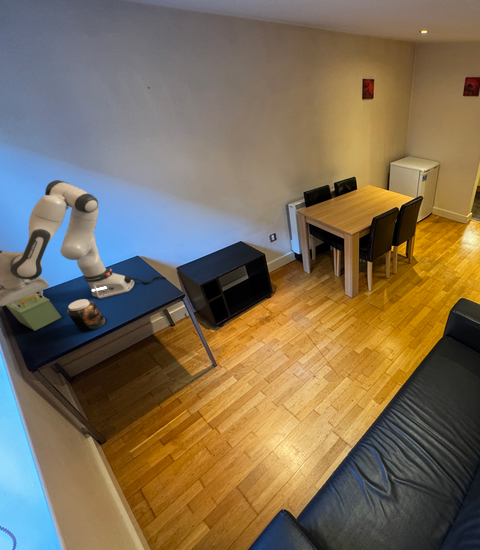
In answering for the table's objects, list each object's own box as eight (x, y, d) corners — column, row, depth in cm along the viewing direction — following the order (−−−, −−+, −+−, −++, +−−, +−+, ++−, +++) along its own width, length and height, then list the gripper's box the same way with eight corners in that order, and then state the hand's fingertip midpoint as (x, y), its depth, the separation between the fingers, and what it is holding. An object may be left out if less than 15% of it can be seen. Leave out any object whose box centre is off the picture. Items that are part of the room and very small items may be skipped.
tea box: (61, 317, 168) (48, 299, 161) (34, 330, 159) (19, 312, 152) (47, 309, 173) (33, 292, 166) (20, 322, 164) (5, 304, 157)
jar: (75, 334, 157) (59, 313, 149) (83, 320, 166) (68, 300, 158) (102, 328, 161) (88, 307, 153) (108, 315, 170) (95, 295, 162)
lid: (49, 300, 161) (44, 293, 158) (20, 313, 151) (14, 306, 149) (33, 292, 166) (28, 285, 164) (5, 304, 157) (-1, 297, 154)
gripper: (-12, 293, 139) (7, 315, 147) (42, 272, 155) (56, 293, 163) (-19, 290, 142) (1, 312, 149) (35, 270, 157) (50, 290, 165)
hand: (30, 302), depth 156 cm, fingers open, 8 cm apart
